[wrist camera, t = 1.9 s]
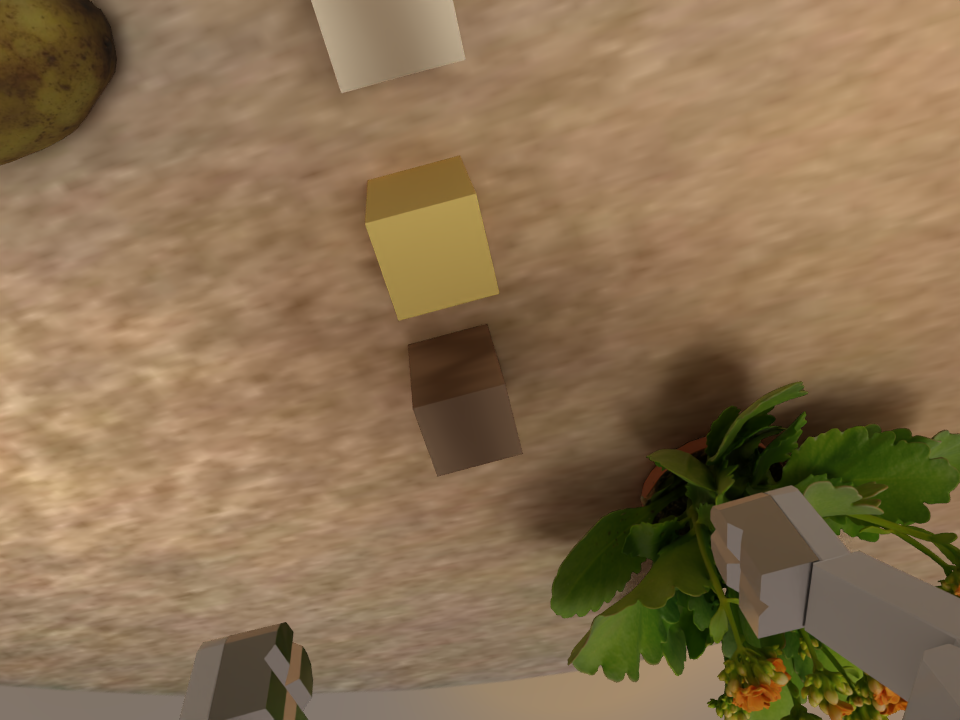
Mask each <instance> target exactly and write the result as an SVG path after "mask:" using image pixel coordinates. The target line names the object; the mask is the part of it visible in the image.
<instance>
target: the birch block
mask: <svg viewBox="0 0 960 720" xmlns="http://www.w3.org/2000/svg"><path fill="white" fill-rule="evenodd" d="M311 2H312V5H313V8H314V11H315V14H316V17H317V20H318V23H319V26H320V29H321V33H322V36H323V39H324V42H325V45H326V48H327V51H328V54H329V57H330V60H331V63H332V66H333V69H334V72H335V75H336V78H337V81H338V85H339V88H340V91H341V93H344V92H348V91H352V90H355V89H359V88H363V87H367V86H370V85H374V84H378V83H381V82H385V81H389V80H392V79H396V78H400V77H404V76H407V75H411V74H415V73H418V72H422V71H426V70H430V69H433V68H437V67H441V66H444V65H448V64H452V63H455V62H459V61H463V60H466V59H465V54H464V50H463V45H462V41H461V36H460V31H459V27H458V22H457V17H456V13H455V8H454V4H453V0H311Z"/></svg>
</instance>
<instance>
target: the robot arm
mask: <svg viewBox="0 0 960 720" xmlns="http://www.w3.org/2000/svg"><path fill="white" fill-rule="evenodd" d="M710 520H711V522H712V524H713V525H714V527H715V529H716V530H715V531H714V533H713V534H712V535H711V549H712V553H713V556H714V560H715V563H716V565H717V568H718V570H719V572H720V574H721V576H722V578H723V580H724V581H725V583H726V585H727V586H728V587H730V588H732V589H734V590H735V591H737V592H739V607H740V609H741V611H742V613H743V614H744V616H745V618H746V619H747V621H748V623H749V624H750V626H751V628H752V629H753V631H754V633H755V635H756V636H757V638H758V639H759V638H763V637H767V636H771V635H775V634H779V633H783V632H788V631H792V630H796V629H800V628H804V627H805V629H804V630H805V631H807V632H808V633H809V634H811V635H812V636H814V637H815V638H817V639H818V640H819V641H821V642H822V643H824V644H825V645H827V646H828V647H830V648H831V649H832V650H834V651H835V652H837V653H838V654H840V655H841V656H842V657H844V658H845V659H847V660H848V661H850V662H851V663H853V664H854V665H855V666H857V667H858V668H860V669H861V670H863V671H864V672H865V673H867V674H868V675H870V676H871V677H873V678H874V679H876V680H877V681H878V682H880V683H881V684H883V685H884V686H886V687H887V688H888V689H890V690H891V691H893V692H894V693H896V694H897V695H899V696H900V697H901V698H903V699H904V700H906V701H907V702H908V704H907V707H906V710H905V713H904V716H903V719H902V720H960V598H958V597H956V596H954V595H952V594H950V593H948V592H945V591H943V590H941V589H939V588H937V587H935V586H933V585H931V584H929V583H926V582H924V581H922V580H920V579H918V578H916V577H914V576H912V575H909V574H907V573H905V572H903V571H901V570H899V569H897V568H895V567H893V566H890V565H888V564H886V563H884V562H882V561H880V560H878V559H876V558H873V557H871V556H869V555H867V554H865V553H863V552H861V551H856V552H852V553H851V552H850V551H849V550H848V548H847V547H846V546H845V545H844V544H843V542H842V541H841V540H840V539H839V538H838V536H837V535H836V534H835V533H834V532H833V530H832V529H831V528H830V527H829V526H828V524H827V523H826V522H825V521H824V520H823V519H822V517H821V516H820V515H819V514H818V513H817V511H816V510H815V509H814V508H813V507H812V505H811V504H810V503H809V502H808V501H807V499H806V498H805V497H804V496H803V495H802V493H801V492H800V491H799V490H798V489H797V488H795V487H794V486H792V485H791V486H786V487H782V488H779V489H775V490H772V491H768V492H765V493H758V494H755V495H751V496H748V497H744V498H741V499H737V500H733V501H730V502H726V503H723V504H719V505H716V506H713V507H712V509H711V515H710ZM292 641H293V631H292V629H291V628H290V627H289V625H288V624H287V623H286V622H284V623H280V624H276V625H272V626H268V627H263V628H259V629H255V630H251V631H247V632H243V633H238V634H234V635H230V636H226V637H222V638H218V639H215V640H211V641H207V642H203V643H202V645H201V646H200V648H199V650H198V651H197V653H196V657H195V661H194V665H193V669H192V673H191V676H190V680H189V684H188V688H187V692H186V696H185V699H184V703H183V708H182V711H181V715H180V719H179V720H308V719H307V717H306V716H305V714H304V713H303V711H304V709H305V707H306V706H307V704H308V703H309V701H310V700H311V698H312V689H313V677H312V668H311V663H310V660H309V657H308V654H307V652H306V651H305V649H304V648H303V646H301V645H299V644H296V643H294V642H292Z"/></svg>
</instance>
